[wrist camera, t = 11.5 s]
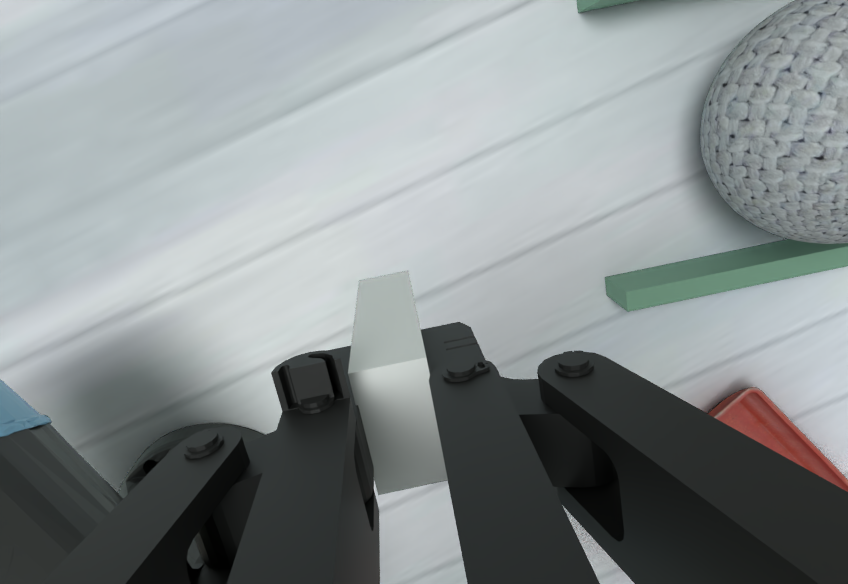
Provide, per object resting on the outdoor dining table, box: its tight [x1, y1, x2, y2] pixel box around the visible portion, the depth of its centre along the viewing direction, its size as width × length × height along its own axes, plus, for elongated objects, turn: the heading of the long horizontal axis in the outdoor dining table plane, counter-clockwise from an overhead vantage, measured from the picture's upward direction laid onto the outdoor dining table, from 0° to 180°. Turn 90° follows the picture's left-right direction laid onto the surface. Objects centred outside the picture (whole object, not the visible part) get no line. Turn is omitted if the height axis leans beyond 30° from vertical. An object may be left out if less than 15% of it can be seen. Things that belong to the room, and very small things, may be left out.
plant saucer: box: [708, 387, 848, 492], centre depth 50 cm, size 18×18×3 cm
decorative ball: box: [700, 0, 848, 244], centre depth 34 cm, size 15×15×15 cm
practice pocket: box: [577, 0, 848, 312], centre depth 39 cm, size 22×22×4 cm
